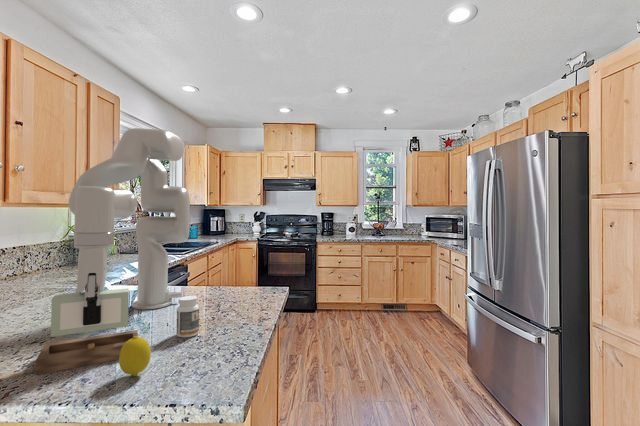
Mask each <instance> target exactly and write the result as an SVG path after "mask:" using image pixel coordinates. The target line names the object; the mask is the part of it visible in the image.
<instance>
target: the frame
mask: <svg viewBox="0 0 640 426" xmlns="http://www.w3.org/2000/svg"><path fill="white" fill-rule="evenodd" d="M95 292H97V291H95ZM129 292H130V290H129V288H120V289H119V288H117V289H108V290H105V289H104V290H103V291H101V292H100V305H101V322H100V323H99V324H92V325H83V307H84V300H85V291H83V292H81V293H80V294H78V293H76V292H73V293H61V294H55V295H54V296H53V297H51V312H50V313H51V314H50V315H51V316H50V317H51V318H50V337H51V338H53V337H54V338H55V337H59V336H66V335H74V334H81V333H82V334H83V333H88V332H94V331H95V332H97V331H104V330H110V329H111V330H112V329H116V328H117V329H118V328H124V327H128V326H129V302H130V301H129V299H130V297H129V296H130V293H129ZM95 295H96V296H97V294H95Z"/></svg>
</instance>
